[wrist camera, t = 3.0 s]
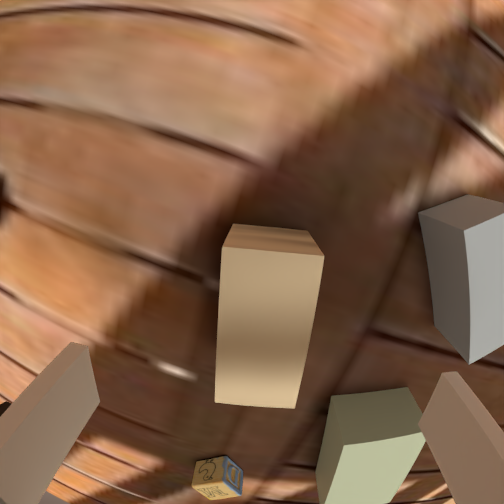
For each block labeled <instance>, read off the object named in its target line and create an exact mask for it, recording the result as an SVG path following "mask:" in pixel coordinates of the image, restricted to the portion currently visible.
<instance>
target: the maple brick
mask: <svg viewBox="0 0 504 504" xmlns="http://www.w3.org/2000/svg"><path fill="white" fill-rule="evenodd" d="M323 263H324V255H323V253H322V252H321V250H320V249H319V247H318V246H317V244H316V243H315V241H314V240H313V238H312V237H311V235H310V234H309V232H308V231H306V230H296V229H286V228H276V227H265V226H254V225H244V224H233V225H232V227H231V229H230V231H229V233H228V235H227V237H226V240H225V242H224V244H223V246H222V257H221V273H220V291H219V310H218V330H217V353H216V379H215V402H217V403H226V404H235V405H246V406H259V407H275V408H295V405H296V400H297V396H298V392H299V387H300V383H301V379H302V374H303V370H304V365H305V360H306V356H307V351H308V346H309V341H310V336H311V331H312V326H313V320H314V315H315V310H316V304H317V299H318V293H319V287H320V281H321V275H322V269H323Z"/></svg>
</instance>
